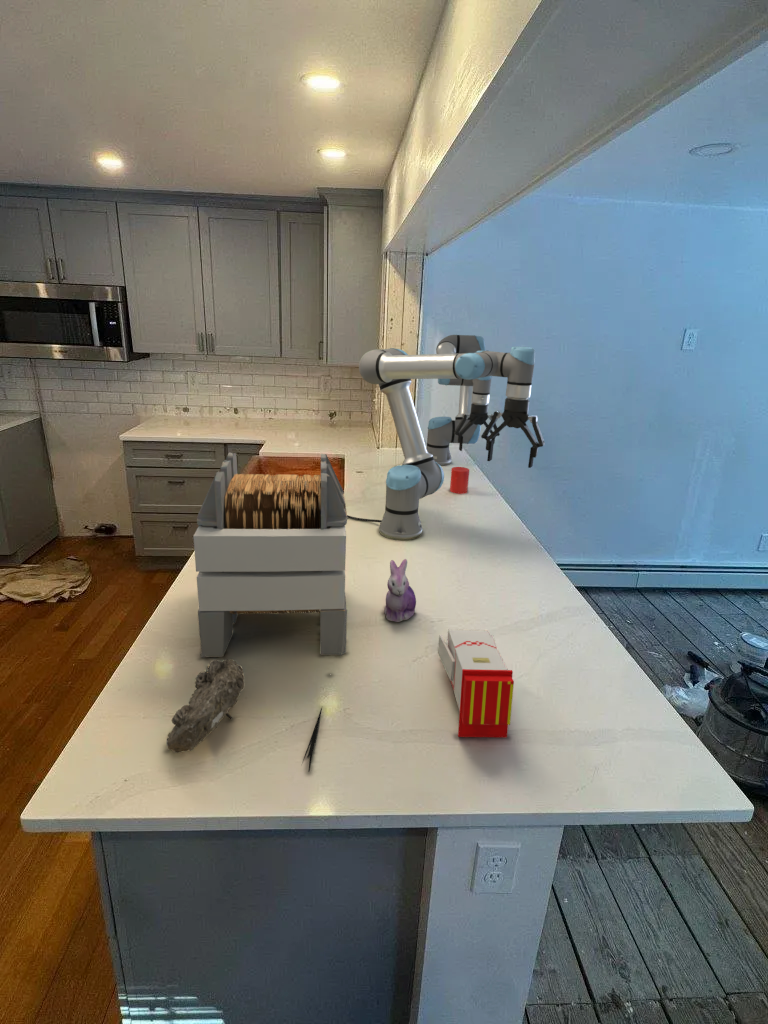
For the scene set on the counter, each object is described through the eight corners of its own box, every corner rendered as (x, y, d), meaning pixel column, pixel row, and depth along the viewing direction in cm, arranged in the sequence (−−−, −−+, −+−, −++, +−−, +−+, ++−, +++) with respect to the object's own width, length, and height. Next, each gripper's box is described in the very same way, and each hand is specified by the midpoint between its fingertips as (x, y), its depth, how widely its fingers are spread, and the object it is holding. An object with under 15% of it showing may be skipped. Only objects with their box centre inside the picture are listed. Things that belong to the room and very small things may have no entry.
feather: (331, 679, 122) (336, 673, 122) (307, 777, 96) (313, 769, 95) (324, 675, 122) (329, 669, 121) (298, 772, 95) (304, 764, 95)
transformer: (222, 587, 156) (213, 443, 143) (341, 586, 160) (343, 445, 146) (198, 659, 125) (184, 483, 111) (346, 655, 129) (350, 484, 115)
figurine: (392, 627, 141) (395, 572, 136) (374, 608, 149) (376, 556, 144) (425, 619, 145) (429, 566, 140) (405, 601, 154) (408, 550, 149)
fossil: (192, 660, 117) (244, 628, 112) (224, 691, 120) (276, 661, 115) (142, 746, 98) (202, 712, 93) (182, 779, 101) (242, 748, 96)
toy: (488, 613, 130) (523, 677, 101) (484, 667, 133) (517, 744, 104) (435, 612, 130) (455, 676, 101) (432, 666, 133) (451, 743, 103)
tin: (470, 490, 252) (472, 468, 248) (463, 495, 245) (465, 472, 242) (454, 487, 255) (455, 465, 252) (446, 491, 249) (448, 469, 246)
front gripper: (560, 401, 176) (550, 467, 183) (483, 392, 187) (476, 455, 194) (555, 404, 170) (545, 472, 177) (475, 395, 180) (469, 459, 188)
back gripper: (453, 404, 244) (449, 452, 252) (510, 405, 247) (504, 453, 254) (450, 401, 251) (446, 447, 259) (505, 402, 254) (499, 448, 261)
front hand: (509, 463), depth 185 cm, fingers open, 13 cm apart
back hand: (475, 450), depth 257 cm, fingers open, 13 cm apart
